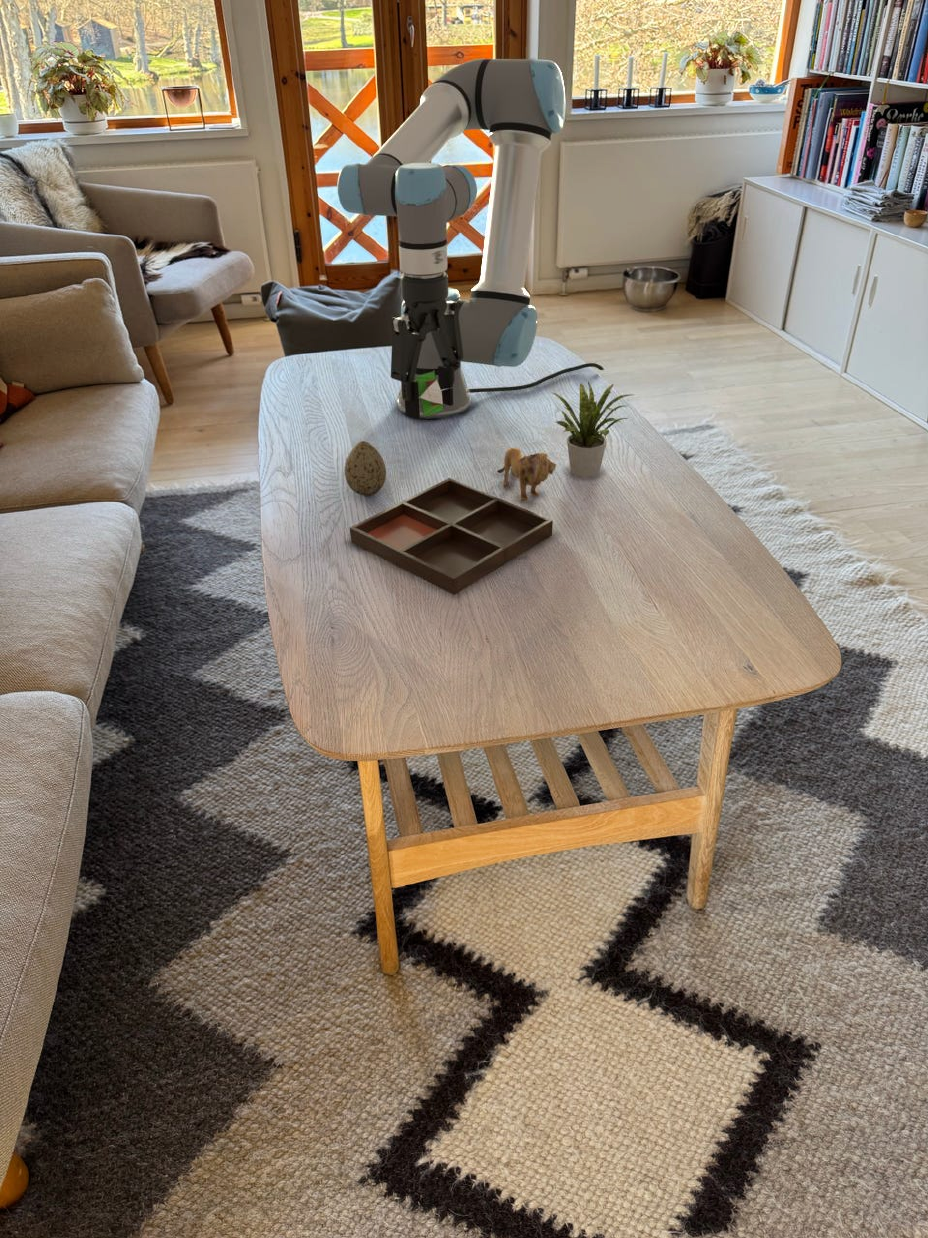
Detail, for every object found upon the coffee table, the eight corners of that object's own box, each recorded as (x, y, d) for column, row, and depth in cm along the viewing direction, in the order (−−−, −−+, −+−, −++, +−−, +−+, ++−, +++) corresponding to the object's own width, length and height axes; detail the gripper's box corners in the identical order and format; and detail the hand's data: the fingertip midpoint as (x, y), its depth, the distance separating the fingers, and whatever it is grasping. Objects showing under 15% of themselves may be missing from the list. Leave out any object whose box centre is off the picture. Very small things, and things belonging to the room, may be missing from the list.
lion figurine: (558, 501, 162) (560, 453, 157) (534, 510, 160) (535, 461, 155) (508, 470, 172) (509, 424, 167) (484, 478, 170) (484, 432, 165)
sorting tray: (449, 491, 166) (449, 477, 164) (552, 535, 153) (552, 520, 151) (350, 542, 152) (349, 527, 151) (454, 595, 139) (453, 579, 138)
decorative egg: (382, 482, 170) (378, 430, 164) (392, 499, 164) (388, 446, 158) (343, 488, 168) (337, 436, 162) (352, 506, 162) (346, 453, 157)
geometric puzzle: (395, 395, 163) (409, 366, 156) (427, 386, 166) (442, 357, 159) (415, 429, 161) (430, 401, 154) (448, 418, 165) (463, 391, 158)
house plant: (647, 478, 169) (656, 390, 159) (586, 498, 163) (591, 409, 153) (597, 449, 179) (602, 366, 169) (537, 468, 173) (539, 382, 163)
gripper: (393, 290, 141) (401, 433, 154) (484, 263, 153) (485, 398, 166) (359, 281, 145) (370, 422, 158) (451, 256, 157) (454, 388, 170)
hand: (429, 409), depth 162 cm, fingers closed on geometric puzzle, 7 cm apart
